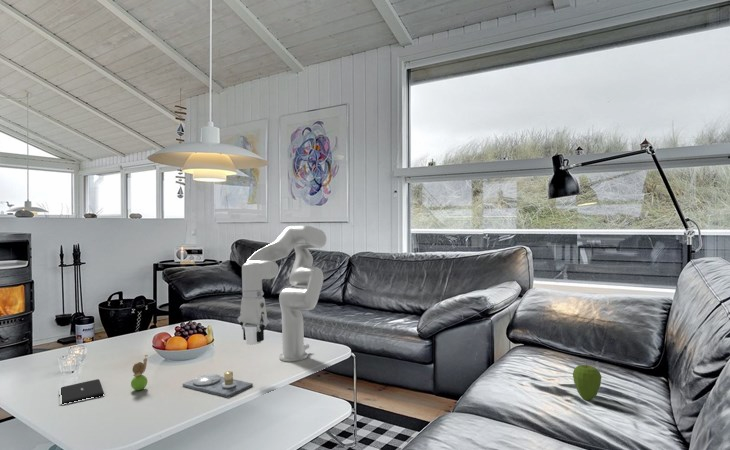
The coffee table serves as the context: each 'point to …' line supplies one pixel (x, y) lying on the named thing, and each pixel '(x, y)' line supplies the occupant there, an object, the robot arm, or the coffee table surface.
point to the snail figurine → (139, 375)
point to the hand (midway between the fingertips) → (253, 339)
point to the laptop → (81, 391)
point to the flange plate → (218, 384)
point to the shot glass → (251, 334)
